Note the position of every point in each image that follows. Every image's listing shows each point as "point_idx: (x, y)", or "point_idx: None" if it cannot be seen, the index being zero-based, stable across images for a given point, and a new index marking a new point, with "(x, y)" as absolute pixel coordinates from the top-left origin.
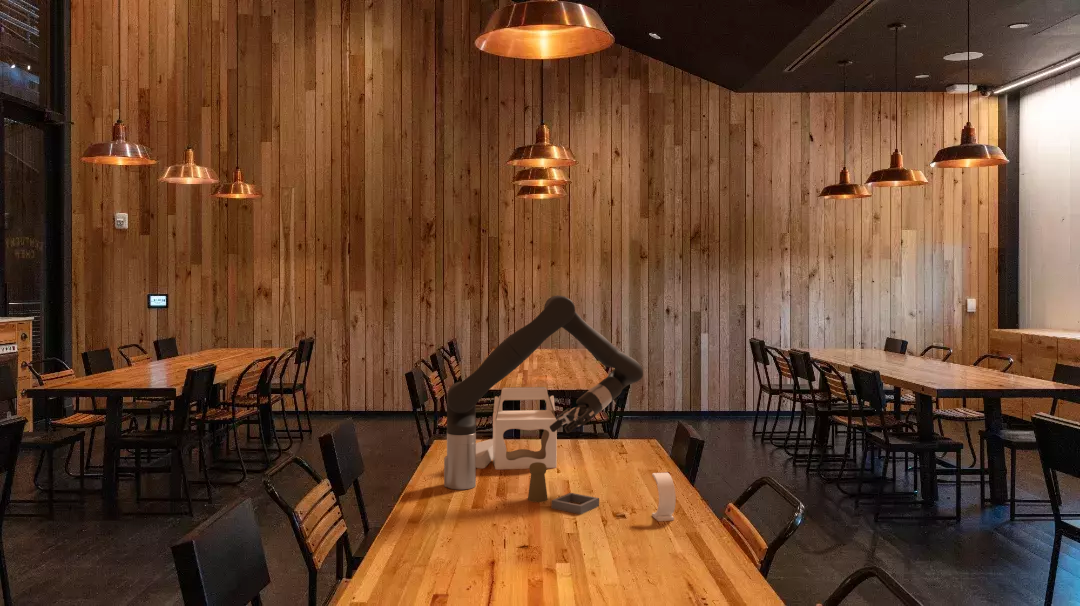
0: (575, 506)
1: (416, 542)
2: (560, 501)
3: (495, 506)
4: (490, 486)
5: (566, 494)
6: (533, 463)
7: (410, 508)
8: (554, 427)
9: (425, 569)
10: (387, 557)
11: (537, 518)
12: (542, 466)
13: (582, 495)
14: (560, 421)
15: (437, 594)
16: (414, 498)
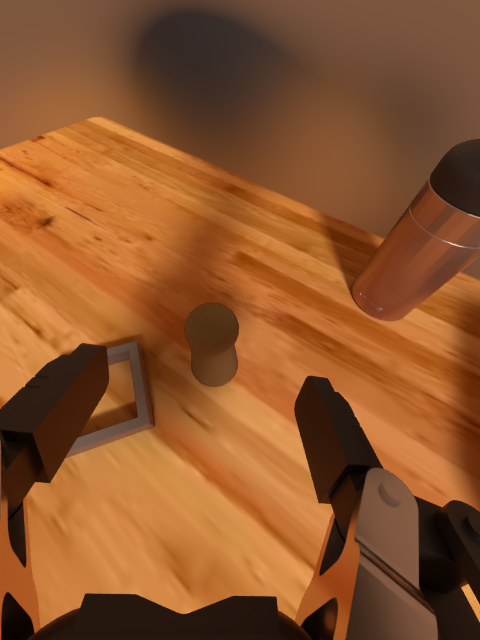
0: None
1: (164, 168)
2: (113, 350)
3: (225, 279)
4: (359, 339)
5: (144, 401)
6: (218, 309)
7: (286, 204)
8: (307, 411)
9: (94, 150)
10: (148, 145)
11: (117, 294)
12: (186, 322)
13: (101, 434)
14: (347, 497)
15: (41, 138)
16: (331, 223)
